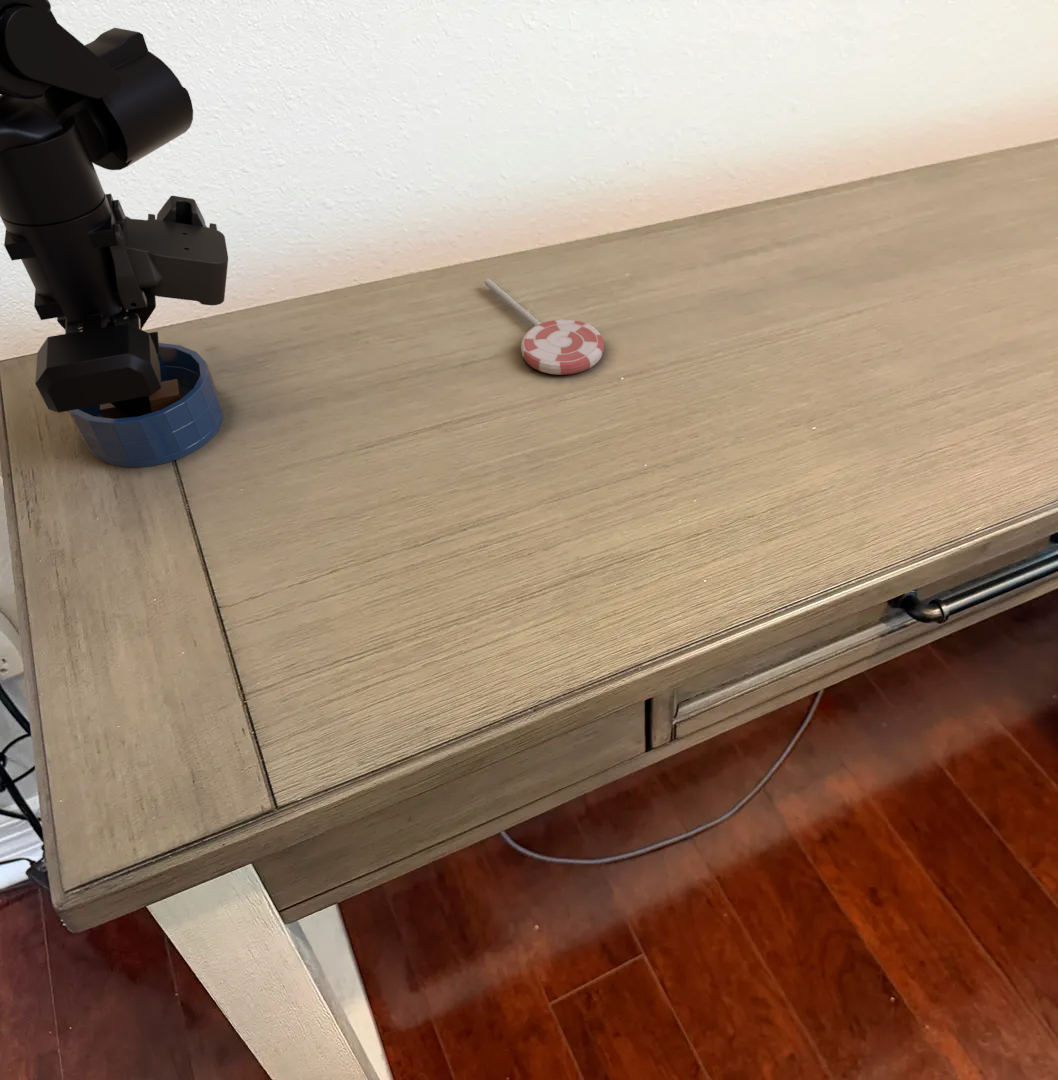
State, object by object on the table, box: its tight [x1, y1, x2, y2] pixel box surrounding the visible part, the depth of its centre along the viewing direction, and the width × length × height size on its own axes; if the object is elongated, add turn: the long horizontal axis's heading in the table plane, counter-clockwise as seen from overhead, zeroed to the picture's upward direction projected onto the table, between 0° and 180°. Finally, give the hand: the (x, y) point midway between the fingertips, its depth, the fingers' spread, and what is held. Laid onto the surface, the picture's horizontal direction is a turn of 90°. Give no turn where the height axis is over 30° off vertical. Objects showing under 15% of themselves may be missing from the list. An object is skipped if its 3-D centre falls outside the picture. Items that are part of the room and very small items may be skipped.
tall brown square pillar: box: [100, 379, 184, 419], centre depth 73 cm, size 2×5×2 cm, turn 113°
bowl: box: [67, 342, 224, 468], centre depth 74 cm, size 9×9×4 cm
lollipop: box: [484, 278, 605, 376], centre depth 85 cm, size 7×1×15 cm
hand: (144, 410), depth 73 cm, fingers closed on tall brown square pillar, 2 cm apart
